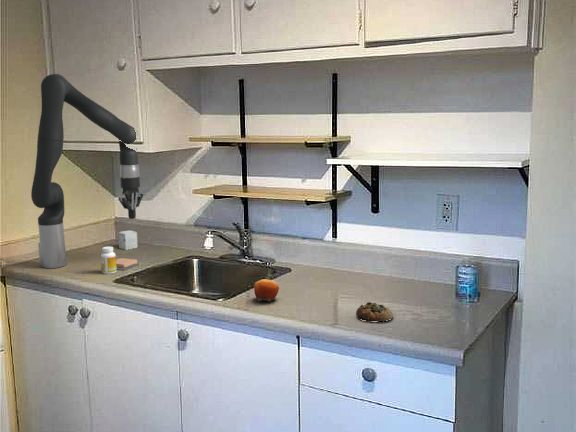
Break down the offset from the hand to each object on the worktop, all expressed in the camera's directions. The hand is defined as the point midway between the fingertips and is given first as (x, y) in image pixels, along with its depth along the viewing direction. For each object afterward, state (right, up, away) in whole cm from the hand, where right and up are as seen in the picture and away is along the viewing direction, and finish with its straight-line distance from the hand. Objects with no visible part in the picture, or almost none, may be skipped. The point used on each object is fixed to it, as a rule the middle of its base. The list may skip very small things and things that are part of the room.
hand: (132, 218), depth 252 cm
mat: (-4, -19, -5) cm, 20 cm away
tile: (-1, -17, 0) cm, 17 cm away
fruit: (+56, -26, -50) cm, 79 cm away
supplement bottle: (-5, -21, -13) cm, 25 cm away
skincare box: (-8, -13, +27) cm, 31 cm away
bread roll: (+88, -29, -67) cm, 115 cm away
